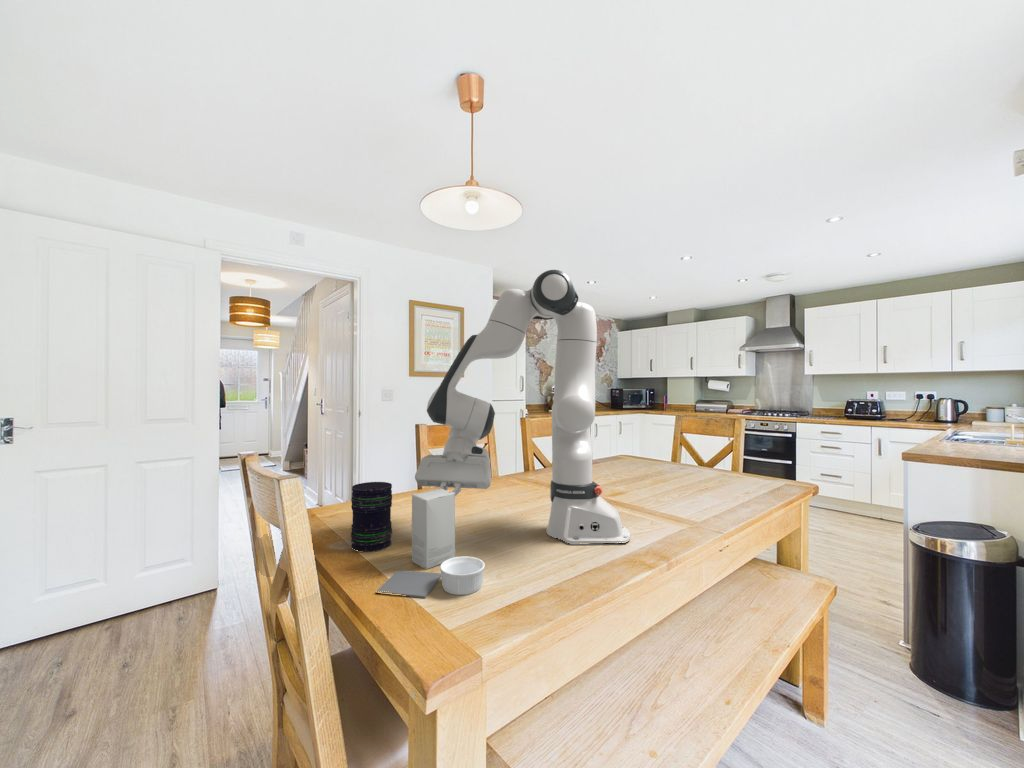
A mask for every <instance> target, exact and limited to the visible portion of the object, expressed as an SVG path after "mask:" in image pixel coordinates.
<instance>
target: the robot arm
mask: <svg viewBox="0 0 1024 768" xmlns="http://www.w3.org/2000/svg"><path fill="white" fill-rule="evenodd" d="M596 315H597V314H596V311H595V309H594V307H593V306H591V305H590V304H588V303H586V302H582V301H579V295H578V293H577V291H576V289H575V287H574V285H573V282H572V280H571V278H570V276H569V275H568V274H566V272H563V271H562V270H559V269H549V270H546V271H544V272H542V273H541V274H539V275H538V276H537V278H536V279H535V280H534V282H533V285H532V287H531V288H530V289H528V290H522V289H518V288H508V289H506V290H503V292H502V293H501V295H500V296H499V298H498V299H497V301H496V303H495V305H494V306H493V309H492V311H491V312H490V315H489V318H488V321H487V323H486V325H485V327H483V329H482V330H481V331H480V332H479V333H478V334H472V335H471V336H470V337H469V338H468V339H467V340H466V341H465V343H464V345H463V346H462V348H461V349H460V351H459V352H458V353H457V355H456V356H455V358H454V360H453V362H452V364H451V365H450V367H449V369H448V370H447V372H446V373H445V376H444V377H443V379H442V381H441V383H440V384H439V386H438V387H437V388H436V389H435V390H434V392H432V394H431V396H430V397H429V399H428V402H427V406H426V412H427V415H428V417H429V418H430V420H431V421H432V423H434V424H440V425H444V426H448V427H450V428H449V430H448V431H449V432H448V438H447V440H446V442H445V444H444V449H443V452H442V454H427V456H423V457H421V460H420V462H419V466H418V468H417V470H416V472H415V474H414V480H415V481H416V484H417V486H419V487H428V488H429V487H434V488H440V489H444V490H447V491H448V489H449V488H451V489H452V488H453V490H452V491H451V492H454V493H455V497H456V496H457V495H458V494H459V493H460V492H461V491H462V489H480V490H482V489H483V490H487V489H489V488H490V487H491V485H492V467H491V458H490V454H489V452H488V449H486V448H484V447H480V446H478V445H477V443H478V442H479V441H481V440H482V439H484V438H485V437H487V436H488V435H489V434H490V433H491V431H492V428H493V424H494V419H495V416H496V413H495V412H496V411H495V409H494V407H493V405H492V404H491V403H490V402H488V401H486V400H483V399H480V398H477V397H474V396H471V395H469V394H466V393H463V392H459V390H457V389H456V387H457V386H458V383H459V382H460V380H461V379H462V376H463V374H464V373H465V371H466V370H467V368H468V366H469V365H470V364H472V362H474V361H477V360H482V359H483V360H485V359H491V360H492V359H493V360H494V359H498V360H499V359H506V358H509V357H512V356H513V355H515V354H516V353H517V352H519V349H520V348H521V346H522V343H523V342H524V339H525V337H526V334H527V332H528V328H529V326H530V324H531V323H532V320H543V321H545V320H546V321H547V320H554V321H555V323H556V326H557V337H556V346H555V347H556V350H555V351H556V352H555V367H554V388H553V389H554V391H553V403H552V406H551V445H552V446H551V447H552V448H551V450H552V452H551V453H552V454H551V455H552V457H551V458H552V459H551V460H552V461H551V462H552V463H551V464H552V465H551V466H552V467H551V468H552V469H551V471H552V475H551V477H552V478H551V480H550V485H549V489H550V490H549V492H550V493H549V495H550V496H549V497H550V501H551V505H550V512H549V519H548V524H547V527H546V530H545V531H546V534H547V535H548V536H550V537H551V536H552V538H554V539H556V538H558V539H557V540H560V539H561V540H560V541H562V540H563V541H562V542H564V541H565V542H564V543H566V542H567V543H566V544H568V543H571V544H570V545H581V544H580V543H617V542H618V543H619V542H621V543H622V542H626V541H628V540H629V539H630V540H631V534H630V531H629V529H628V528H627V527H626V526H624V525H622V519H621V516H620V513H619V512H618V510H617V509H616V508H615V507H614V506H613V505H611V504H610V503H609V502H608V501H606V499H604V498H603V497H601V495H602V494H603V488H602V487H601V485H600V484H598V482H594V480H593V447H592V446H593V445H592V436H591V427H592V425H593V423H594V420H595V417H596V359H597V345H598V344H597V342H598V340H597V339H598V329H597V328H598V325H597V317H596Z"/></svg>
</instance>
